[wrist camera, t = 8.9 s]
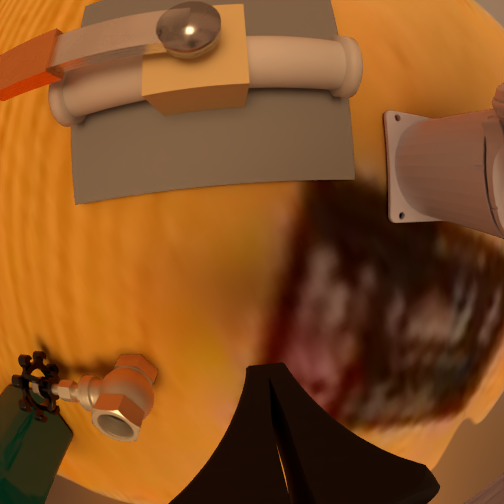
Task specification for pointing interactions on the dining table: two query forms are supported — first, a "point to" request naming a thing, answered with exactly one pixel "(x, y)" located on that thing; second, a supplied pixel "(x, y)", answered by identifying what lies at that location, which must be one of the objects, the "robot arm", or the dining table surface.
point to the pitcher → (28, 450)
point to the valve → (93, 393)
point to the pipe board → (222, 134)
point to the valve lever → (109, 45)
